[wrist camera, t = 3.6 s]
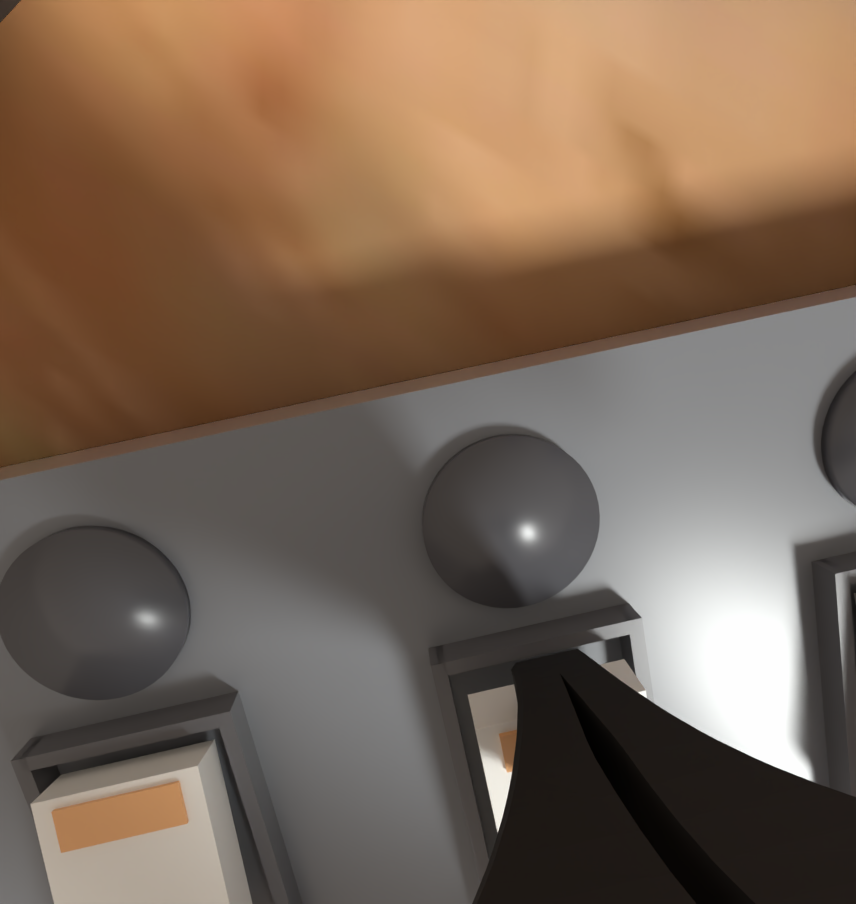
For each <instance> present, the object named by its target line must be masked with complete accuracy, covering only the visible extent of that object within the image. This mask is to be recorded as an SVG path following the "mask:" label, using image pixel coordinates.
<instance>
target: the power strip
mask: <svg viewBox="0 0 856 904" xmlns="http://www.w3.org/2000/svg"><path fill="white" fill-rule="evenodd" d="M854 593H856V285H853V286H848V287H843V288H838V289H834V290H829V291H824V292H820V293H815V294H810V295H806V296H801V297H796V298H792V299H787V300H782V301H778V302H773V303H768V304H764V305H759V306H754V307H750V308H745V309H740V310H735V311H731V312H726V313H721V314H717V315H712V316H707V317H703V318H698V319H693V320H689V321H684V322H679V323H675V324H670V325H665V326H661V327H656V328H651V329H646V330H642V331H637V332H632V333H628V334H623V335H618V336H614V337H609V338H604V339H600V340H595V341H590V342H586V343H581V344H576V345H572V346H567V347H562V348H558V349H553V350H548V351H543V352H539V353H534V354H529V355H525V356H520V357H515V358H511V359H506V360H501V361H497V362H492V363H487V364H483V365H478V366H473V367H469V368H464V369H459V370H454V371H450V372H445V373H440V374H436V375H431V376H426V377H422V378H417V379H412V380H408V381H403V382H398V383H394V384H389V385H384V386H380V387H375V388H370V389H366V390H361V391H356V392H351V393H347V394H342V395H337V396H333V397H328V398H323V399H319V400H314V401H309V402H305V403H300V404H295V405H291V406H286V407H281V408H277V409H272V410H267V411H262V412H258V413H253V414H248V415H244V416H239V417H234V418H230V419H225V420H220V421H216V422H211V423H206V424H202V425H197V426H192V427H188V428H183V429H178V430H174V431H169V432H164V433H159V434H155V435H150V436H145V437H141V438H136V439H131V440H127V441H122V442H117V443H113V444H108V445H103V446H99V447H94V448H89V449H85V450H80V451H75V452H71V453H66V454H61V455H56V456H52V457H47V458H42V459H38V460H33V461H28V462H24V463H19V464H14V465H10V466H5V467H0V904H54V901H53V897H52V893H51V889H50V884H49V880H48V876H47V872H46V868H45V863H44V859H43V855H42V851H41V847H40V842H39V838H38V834H37V830H36V826H35V821H34V817H33V813H32V809H31V805H30V804H31V803H32V802H33V801H34V800H35V799H36V798H37V797H38V796H39V795H40V794H41V793H43V792H44V791H45V790H46V789H47V788H48V787H49V786H50V785H51V784H52V783H53V782H54V781H55V780H56V779H57V778H58V777H59V776H60V775H62V774H66V773H70V772H75V771H79V770H83V769H88V768H92V767H97V766H101V765H105V764H110V763H114V762H119V761H123V760H127V759H132V758H136V757H140V756H145V755H149V754H154V753H158V752H162V751H167V750H171V749H175V748H180V747H184V746H189V745H193V744H197V743H202V742H206V741H211V740H215V743H216V747H217V751H218V756H219V760H220V764H221V769H222V773H223V777H224V782H225V786H226V791H227V795H228V799H229V804H230V808H231V812H232V817H233V821H234V825H235V830H236V834H237V839H238V843H239V847H240V852H241V856H242V860H243V865H244V869H245V873H246V878H247V882H248V887H249V891H250V895H251V900H252V904H472V903H473V901H474V898H475V896H476V893H477V891H478V888H479V886H480V883H481V881H482V878H483V876H484V873H485V871H486V868H487V865H488V863H489V860H490V857H491V854H492V851H493V848H494V844H495V841H496V838H497V829H496V824H495V820H494V815H493V811H492V806H491V801H490V797H489V792H488V787H487V783H486V778H485V773H484V769H483V764H482V759H481V755H480V750H479V745H478V741H477V736H476V732H475V727H474V722H473V718H472V713H471V708H470V704H469V699H468V695H469V694H473V693H478V692H482V691H486V690H491V689H495V688H500V687H504V686H508V685H513V684H514V682H513V676H512V671H511V669H512V668H513V666H514V665H515V663H517V662H521V661H526V660H530V659H535V658H539V657H543V656H548V655H552V654H556V653H561V652H565V651H569V650H574V649H579V650H580V651H582V652H583V653H585V654H586V655H587V656H589V657H590V658H591V659H593V660H594V661H595V662H597V663H598V664H599V665H600V664H604V663H609V662H613V661H618V660H622V659H625V661H626V662H627V664H628V665H629V667H630V668H631V670H632V671H633V672H634V674H635V675H636V677H637V678H638V680H639V681H640V683H641V684H642V685H643V687H644V688H645V690H646V695H647V699H649V700H650V701H652V702H653V703H655V704H656V705H658V706H659V707H661V708H662V709H664V710H665V711H667V712H669V713H670V714H672V715H674V716H675V717H677V718H679V719H680V720H682V721H684V722H686V723H687V724H689V725H691V726H692V727H694V728H696V729H698V730H699V731H701V732H703V733H705V734H707V735H709V736H711V737H713V738H714V739H716V740H718V741H720V742H723V743H725V744H727V745H729V746H731V747H733V748H735V749H737V750H739V751H741V752H743V753H745V754H747V755H749V756H751V757H754V758H756V759H758V760H760V761H763V762H765V763H767V764H770V765H772V766H774V767H777V768H779V769H782V770H784V771H787V772H789V773H792V774H794V775H797V776H799V777H802V778H805V779H807V780H810V781H812V782H815V783H817V784H820V785H823V786H826V787H829V788H831V789H834V790H837V791H840V792H843V793H846V794H849V795H852V796H855V797H856V603H855V598H854Z"/></svg>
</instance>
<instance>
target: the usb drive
mask: <svg viewBox="0 0 856 904" xmlns="http://www.w3.org/2000/svg"><path fill="white" fill-rule="evenodd" d="M20 1H21V0H0V22H1V21H2V20H3V19H4V18H5V17H6V16H7V15H8V14H9V13H10V12H11V11H12V9H13V8H14V7H15V6H16V5H17V4H18V3H19V2H20Z"/></svg>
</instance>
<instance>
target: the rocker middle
mask: <svg viewBox="0 0 856 904" xmlns="http://www.w3.org/2000/svg"><path fill="white" fill-rule="evenodd" d="M600 665H601V666H602V667H603V668H605V669H606V670H607V671H609V672H610V673H611V674H613V675H614V676H616V677H617V678H618V679H620V680H621V681H622V682H624V683H625V684H627V685H628V686H629V687H631V688H632V689H634V690H635V691H637V692H638V693H640V694H641V695H643V696H644V697H646V698H647V695H646V690H645V688H644V687H643V685H642V684H641V683H640V681H639V680H638V678H637V677H636V675H635V674H634V672H633V671H632V670H631V668H630V667H629V665H628V664H627V662H626V661H625V659H622V660H618V661H613V662H609V663H604V664H600ZM468 699H469V704H470V708H471V713H472V718H473V722H474V727H475V732H476V736H477V741H478V745H479V750H480V755H481V759H482V764H483V769H484V773H485V778H486V783H487V787H488V792H489V797H490V801H491V806H492V811H493V815H494V820H495V824H496V829H497V834H498V831H499V827H500V824H501V820H502V817H503V813H504V809H505V804H506V800H507V796H508V791H509V786H510V781H511V775H512V769H513V761H514V753H515V745H516V736H517V712H518V704H517V697H516V692H515V687H514V684H513V685H508V686H504V687H500V688H495V689H491V690H486V691H482V692H478V693H473V694H469V695H468Z"/></svg>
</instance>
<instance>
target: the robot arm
mask: <svg viewBox="0 0 856 904" xmlns="http://www.w3.org/2000/svg"><path fill="white" fill-rule="evenodd" d="M511 671H512V676H513V682H514V687H515V692H516V697H517V704H518V712H517V736H516V745H515V753H514V761H513V769H512V775H511V781H510V786H509V791H508V796H507V800H506V804H505V809H504V813H503V817H502V820H501V824H500V827H499V831H498V834H497V838H496V841H495V844H494V848H493V851H492V854H491V857H490V860H489V863H488V865H487V868H486V871H485V873H484V876H483V878H482V881H481V883H480V886H479V888H478V891H477V893H476V896H475V898H474V901H473V903H472V904H856V797H855V796H852V795H849V794H846V793H843V792H840V791H837V790H834V789H831V788H829V787H826V786H823V785H820V784H817V783H815V782H812V781H810V780H807V779H805V778H802V777H799V776H797V775H794V774H792V773H789V772H787V771H784V770H782V769H779V768H777V767H774V766H772V765H770V764H767V763H765V762H763V761H760V760H758V759H756V758H754V757H751V756H749V755H747V754H745V753H743V752H741V751H739V750H737V749H735V748H733V747H731V746H729V745H727V744H725V743H723V742H720V741H718V740H716V739H714V738H713V737H711V736H709V735H707V734H705V733H703V732H701V731H699V730H698V729H696V728H694V727H692V726H691V725H689V724H687V723H686V722H684V721H682V720H680V719H679V718H677V717H675V716H674V715H672V714H670V713H669V712H667V711H665V710H664V709H662V708H661V707H659V706H658V705H656V704H655V703H653V702H652V701H650V700H649V699H647V698H646V697H644V696H643V695H641V694H640V693H638V692H637V691H635V690H634V689H632V688H631V687H629V686H628V685H627V684H625V683H624V682H622V681H621V680H620V679H618V678H617V677H616V676H614V675H613V674H611V673H610V672H609V671H607V670H606V669H605V668H603V667H602V666H601V665H599V664H598V663H597V662H595V661H594V660H593V659H591V658H590V657H589V656H587V655H586V654H585V653H583V652H582V651H580V650H579V649H574V650H569V651H565V652H561V653H556V654H552V655H548V656H543V657H539V658H535V659H530V660H526V661H521V662H517V663H515V665H514V666H513V668H512V669H511Z"/></svg>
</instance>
